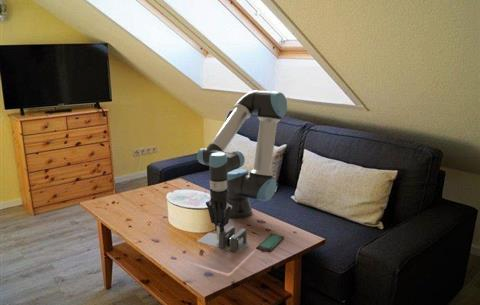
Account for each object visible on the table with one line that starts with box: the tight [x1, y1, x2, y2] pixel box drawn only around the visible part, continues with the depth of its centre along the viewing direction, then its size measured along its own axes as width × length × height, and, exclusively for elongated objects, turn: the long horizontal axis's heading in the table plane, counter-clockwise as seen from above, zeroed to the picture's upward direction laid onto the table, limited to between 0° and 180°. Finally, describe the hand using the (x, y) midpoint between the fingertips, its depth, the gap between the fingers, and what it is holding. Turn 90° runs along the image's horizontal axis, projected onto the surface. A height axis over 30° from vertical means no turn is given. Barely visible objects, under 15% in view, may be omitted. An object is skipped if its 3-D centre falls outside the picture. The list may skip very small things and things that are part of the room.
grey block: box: [225, 233, 243, 249], centre depth 172 cm, size 10×4×4 cm, turn 60°
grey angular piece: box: [196, 225, 251, 254], centre depth 174 cm, size 10×22×7 cm, turn 60°
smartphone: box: [255, 233, 285, 253], centre depth 176 cm, size 7×1×15 cm
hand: (219, 238), depth 176 cm, fingers closed
